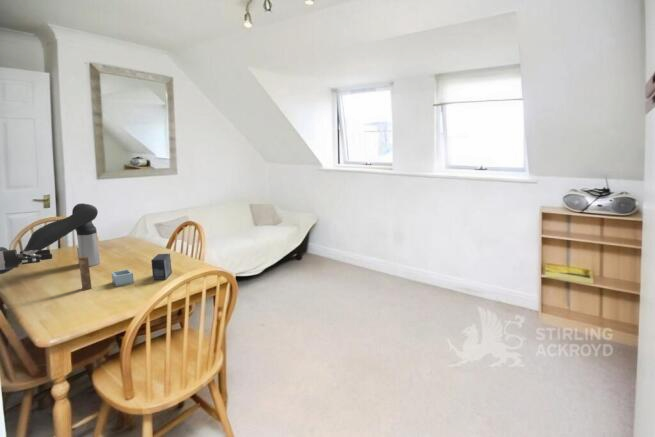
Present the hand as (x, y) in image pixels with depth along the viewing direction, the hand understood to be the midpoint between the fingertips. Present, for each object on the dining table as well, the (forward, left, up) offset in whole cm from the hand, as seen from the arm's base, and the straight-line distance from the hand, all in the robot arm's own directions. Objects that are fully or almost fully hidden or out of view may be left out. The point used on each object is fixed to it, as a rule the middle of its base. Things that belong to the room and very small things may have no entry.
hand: (50, 253), depth 173 cm
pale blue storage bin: (+18, +19, -19) cm, 32 cm away
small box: (+31, +31, -19) cm, 48 cm away
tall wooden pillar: (+7, +9, -19) cm, 22 cm away
